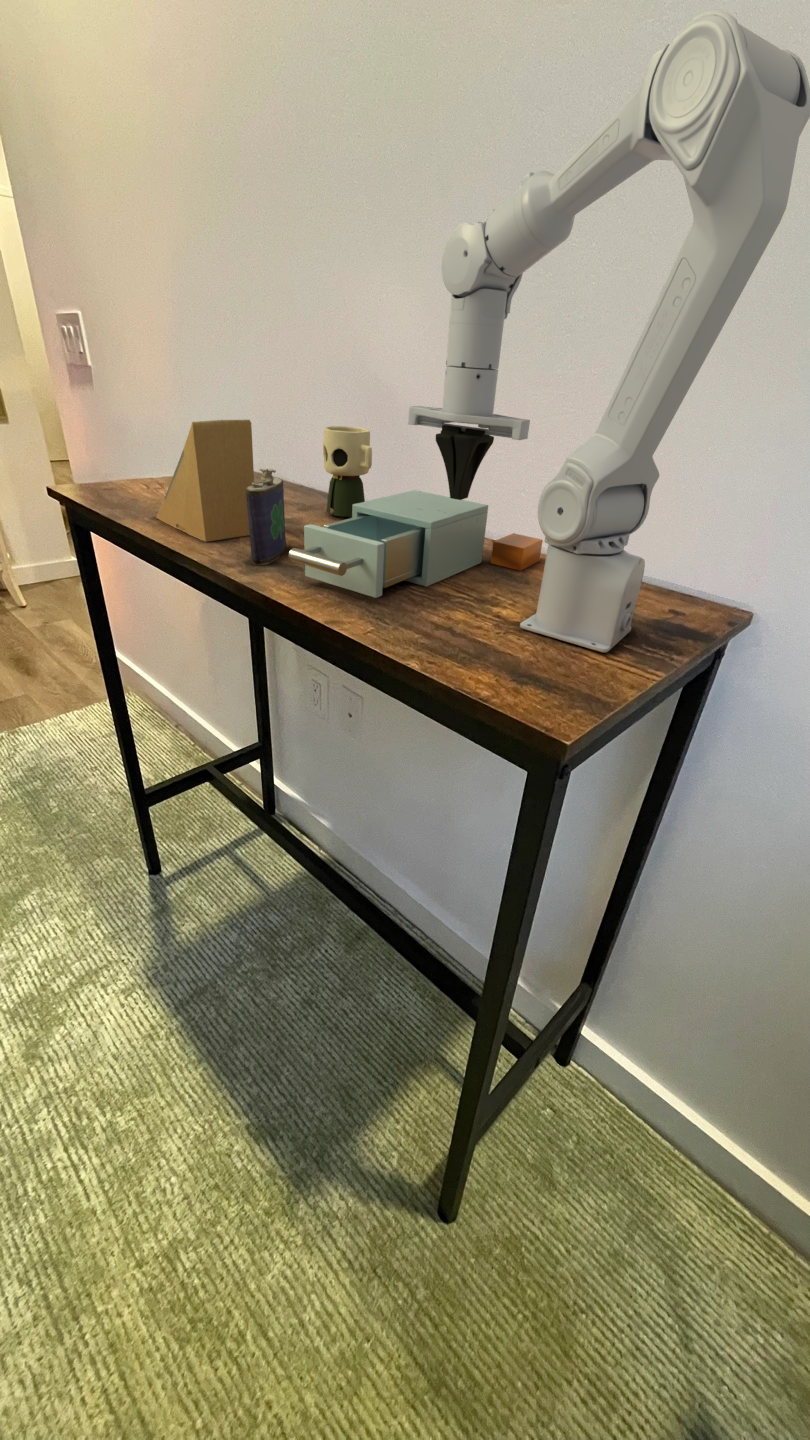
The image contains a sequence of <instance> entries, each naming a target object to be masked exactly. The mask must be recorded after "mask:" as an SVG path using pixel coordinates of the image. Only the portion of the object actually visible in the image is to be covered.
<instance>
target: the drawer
mask: <svg viewBox="0 0 810 1440" xmlns="http://www.w3.org/2000/svg"><path fill="white" fill-rule="evenodd" d="M425 529H426V528H423V527H419V526H414V525H410V524H406V523H402V522H397V521H393V520H389V519H385V518H380V517H376V516H372V515H368V514H365V515H362V516H358V517H354V518H351V517H349V518H347V519H343V520H337V521H334V522H330V523H327V524H324V525H323V526H319V525H316V524H312V523H310V524H306V525H304V526H303V539H304V540H303V541H304V542H303V545H304V546H303V547H304V548H303V549H299V548H296V547H293V548H291V549H290V550H289V552H288V559H289V561H291V562H294V563H297V564H300V565H303V566H304V577H307V578H310V579H313V580H317V581H320V582H323V583H326V584H329V585H333V586H337V587H339V588H343V589H345V590H350V591H351V592H356V593H358V594H362V595H365V596H368V597H371V598H375V599H376V598H379V597H382V596H383V589H386V588H389V587H391V586H393V585H395V584H398V583H400V582H403V581H405V580H406V579H408V578H411V577H413V576H416V575H418V574H421V573H422V567H423V554H424V541H425Z"/></svg>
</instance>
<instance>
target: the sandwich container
mask: <svg viewBox="0 0 810 1440" xmlns="http://www.w3.org/2000/svg"><path fill="white" fill-rule="evenodd" d="M252 428H253V427H252V422H251V419H213V420H199V421H192V422H191V424H190V428H189V431H188V435H187V436H186V440H185V443H184V446H183V449H182V452H181V454H180V457H179V460H178V462H177V465H176V467H175V470H174V473H173V475H172V478H171V481H170V483H169V486H168V489H167V490H166V493H165V496H164V498H163V499H162V500H163V501H162V503H161V505H160V508H159V510H158V512H157V515H156V517H155V518H156V519H158V520H159V521H161V522H163V523H164V524H167V525H169V526H171V527H173V528H175V529H177V530H179V531H181V532H183V533H185V534H187V535H189V536H191V537H194V538H195V539H198V540H200V541H203V542H205V543H207V542H215V541H220V540H226V539H227V540H228V539H235V538H240V537H246V536H250V535H249V521H248V511H247V501H246V488H248V486H252V482H253V483H255V471H254V451H253V450H254V449H253V430H252Z"/></svg>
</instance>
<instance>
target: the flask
mask: <svg viewBox="0 0 810 1440" xmlns="http://www.w3.org/2000/svg"><path fill="white" fill-rule="evenodd" d="M259 471H260V472H261V473H262V475H261V477H260V480H259V481H258V483H256V482H254V483H253V482H252V486H248V488H246V501H247V511H248V521H249V535H248V536H249V540H250V541H249V545H250V557H251V560H250V561H251V563H252V565H256V566H265V565H269V564H271V563H273V562H275V561H277V560H278V559H279V558H281V556H282V555H283V554H284V553H285V551H286V550H287V539H286V521H285V520H286V519H285V515H286V513H285V498H284V497H285V496H284V493H285V489H284V480H283V479H282V478H280V477H274V476H273V473H274V474H275V473H276V472H277V471H276V469H273V468H269V469H268V468H259Z"/></svg>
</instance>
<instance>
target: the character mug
mask: <svg viewBox="0 0 810 1440" xmlns="http://www.w3.org/2000/svg"><path fill="white" fill-rule="evenodd" d="M322 457H323V468H324V470H325V472H326V473H327V474H330V475H332V476H331V478H330V480H329V485H328V492H327V503H326V513H327V514H329V515H330V514H331V510H333V516H335V517H343V518H344V517H348V518H352V505H353V504H357V503H361V502H366V499H365V489H364V482H363V480H362V478H361V476H364V475H366V474H368V473H369V471H370V469H371V468H372V466H373V449H372V447H371V430H370V429H368V428H364V427H359V426H345V425H333V426H332V425H331V426H326V427H324V428H323V439H322Z"/></svg>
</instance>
